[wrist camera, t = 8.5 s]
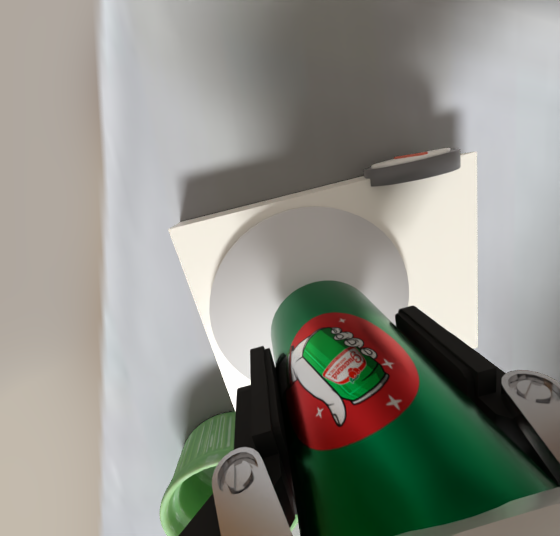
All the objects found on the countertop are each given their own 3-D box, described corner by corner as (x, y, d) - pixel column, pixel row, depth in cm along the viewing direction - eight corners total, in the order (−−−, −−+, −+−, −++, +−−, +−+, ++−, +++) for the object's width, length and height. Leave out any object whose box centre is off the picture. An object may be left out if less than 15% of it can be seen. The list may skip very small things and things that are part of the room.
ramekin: (200, 388, 20) (187, 444, 15) (312, 419, 22) (328, 477, 17) (161, 479, 22) (140, 549, 18) (267, 500, 24) (270, 568, 19)
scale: (443, 143, 16) (513, 131, 12) (450, 328, 20) (505, 367, 16) (175, 210, 16) (149, 222, 12) (237, 386, 20) (235, 443, 16)
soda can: (358, 368, 15) (715, 973, 4) (264, 365, 14) (332, 1107, 3) (379, 279, 13) (1093, 819, 2) (276, 271, 13) (508, 1019, 1)
